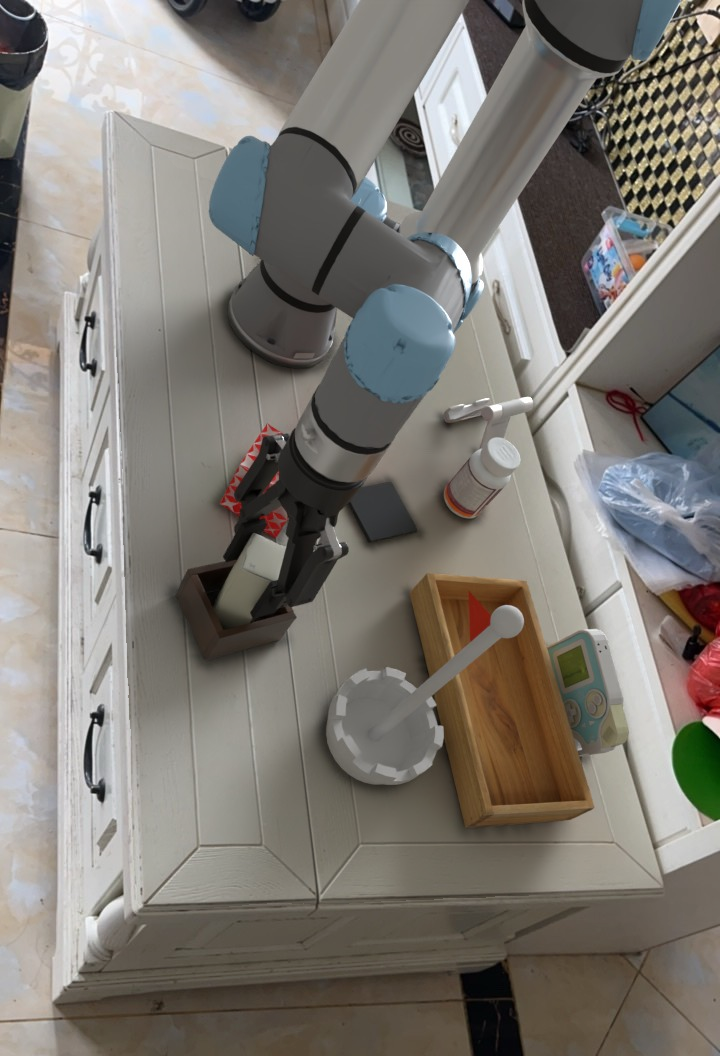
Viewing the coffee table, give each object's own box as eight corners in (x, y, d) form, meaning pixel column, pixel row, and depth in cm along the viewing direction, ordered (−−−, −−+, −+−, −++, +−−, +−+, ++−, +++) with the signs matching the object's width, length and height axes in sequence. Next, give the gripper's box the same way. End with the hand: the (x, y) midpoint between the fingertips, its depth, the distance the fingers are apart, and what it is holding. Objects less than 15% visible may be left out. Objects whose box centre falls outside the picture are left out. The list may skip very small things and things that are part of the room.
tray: (407, 593, 112) (428, 570, 108) (505, 600, 119) (528, 578, 114) (460, 830, 99) (486, 815, 95) (566, 822, 106) (595, 808, 102)
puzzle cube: (246, 463, 111) (267, 423, 104) (300, 496, 112) (323, 459, 106) (219, 504, 106) (239, 464, 100) (275, 538, 107) (298, 501, 101)
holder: (174, 594, 98) (187, 569, 93) (249, 576, 103) (264, 551, 99) (205, 661, 96) (219, 638, 91) (280, 639, 101) (297, 617, 97)
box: (240, 643, 98) (279, 587, 88) (203, 628, 97) (239, 569, 87) (252, 606, 101) (292, 547, 91) (217, 590, 100) (253, 530, 90)
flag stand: (434, 785, 101) (599, 677, 77) (333, 800, 94) (478, 688, 71) (404, 682, 106) (549, 550, 82) (305, 690, 99) (432, 549, 75)
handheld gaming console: (560, 764, 113) (532, 653, 116) (576, 761, 114) (548, 652, 118) (620, 745, 103) (587, 624, 107) (637, 742, 105) (604, 624, 108)
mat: (342, 492, 115) (344, 490, 115) (389, 483, 120) (391, 481, 119) (369, 543, 113) (371, 541, 113) (416, 532, 118) (418, 530, 117)
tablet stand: (480, 406, 136) (510, 369, 129) (508, 446, 134) (539, 411, 127) (441, 416, 131) (470, 377, 124) (469, 458, 129) (500, 421, 122)
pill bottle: (470, 483, 127) (514, 433, 118) (485, 519, 125) (531, 471, 116) (435, 484, 124) (477, 433, 115) (450, 521, 121) (494, 471, 112)
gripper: (248, 365, 76) (181, 515, 94) (346, 553, 71) (255, 672, 89) (320, 359, 80) (242, 504, 98) (417, 536, 75) (316, 654, 93)
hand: (248, 584), depth 93 cm, fingers closed on box, 6 cm apart
